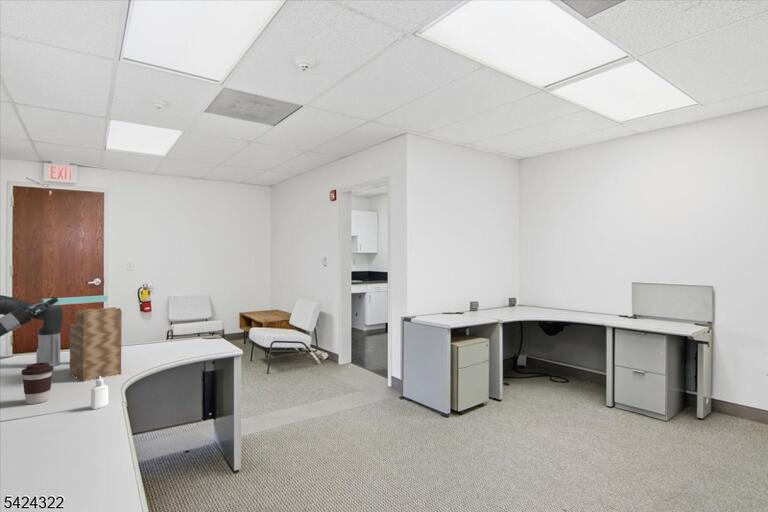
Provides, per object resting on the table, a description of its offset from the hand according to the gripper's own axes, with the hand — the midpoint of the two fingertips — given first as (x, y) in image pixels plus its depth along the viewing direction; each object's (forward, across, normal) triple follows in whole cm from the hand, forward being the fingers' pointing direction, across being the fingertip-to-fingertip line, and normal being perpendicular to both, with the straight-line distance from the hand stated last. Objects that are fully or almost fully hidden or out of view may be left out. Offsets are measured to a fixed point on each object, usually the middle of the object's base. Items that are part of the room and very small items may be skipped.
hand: (55, 298), depth 196 cm
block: (+6, 0, +6) cm, 9 cm away
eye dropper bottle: (-20, -61, +34) cm, 72 cm away
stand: (-6, -5, +41) cm, 42 cm away
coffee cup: (-31, -33, +27) cm, 53 cm away
